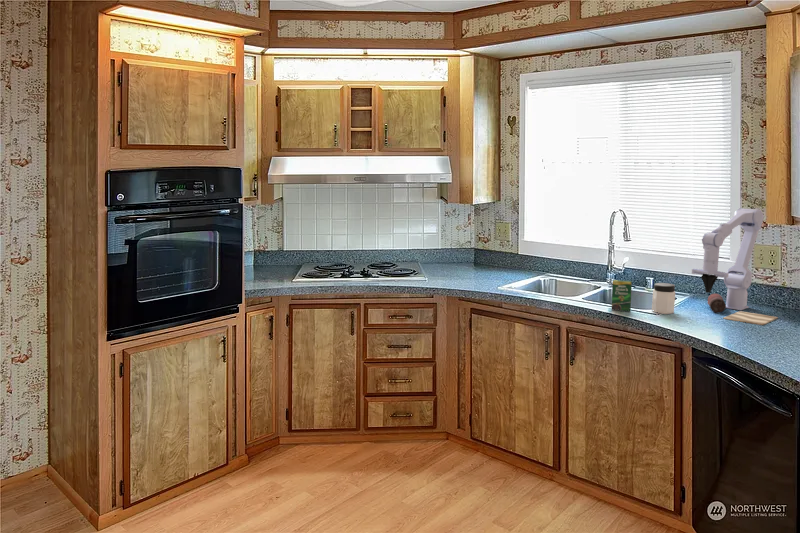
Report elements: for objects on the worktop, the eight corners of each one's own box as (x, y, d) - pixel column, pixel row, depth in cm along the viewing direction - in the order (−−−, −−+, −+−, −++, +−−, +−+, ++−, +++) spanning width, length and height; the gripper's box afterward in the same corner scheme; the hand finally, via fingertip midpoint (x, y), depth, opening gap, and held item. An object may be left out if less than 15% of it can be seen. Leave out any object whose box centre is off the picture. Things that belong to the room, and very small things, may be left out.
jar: (649, 309, 291) (651, 282, 289) (668, 309, 291) (670, 282, 289) (656, 314, 282) (658, 286, 280) (676, 314, 282) (678, 286, 280)
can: (711, 314, 286) (708, 308, 299) (727, 311, 284) (724, 304, 297) (707, 301, 286) (705, 295, 299) (723, 297, 284) (720, 291, 297)
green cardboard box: (610, 310, 289) (612, 280, 287) (611, 308, 292) (613, 279, 289) (630, 312, 286) (632, 281, 284) (630, 310, 288) (632, 280, 286)
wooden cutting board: (739, 312, 287) (739, 311, 287) (777, 318, 277) (777, 317, 277) (723, 318, 275) (723, 317, 275) (762, 325, 264) (762, 324, 264)
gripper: (689, 259, 285) (687, 290, 287) (724, 263, 274) (722, 296, 276) (696, 258, 289) (694, 288, 292) (731, 262, 279) (728, 293, 281)
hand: (708, 292), depth 284 cm, fingers closed
